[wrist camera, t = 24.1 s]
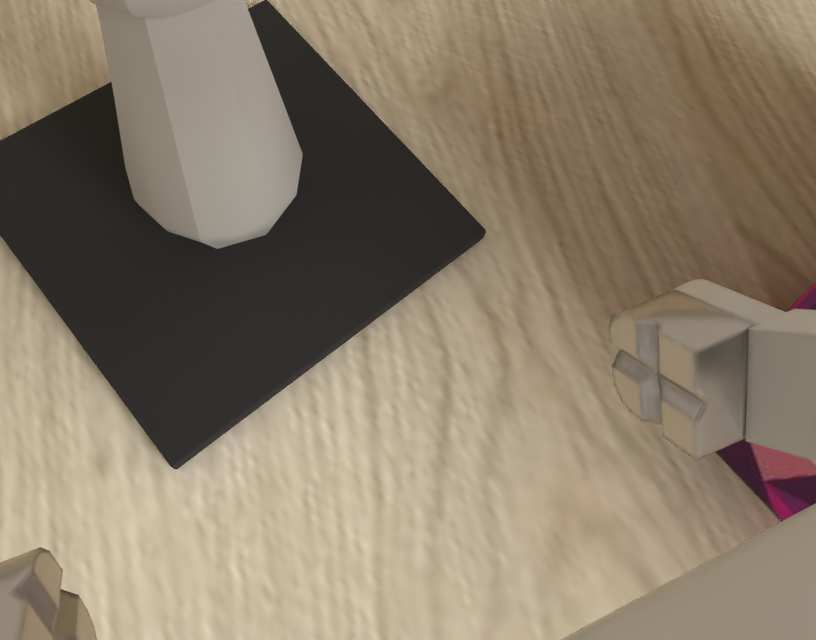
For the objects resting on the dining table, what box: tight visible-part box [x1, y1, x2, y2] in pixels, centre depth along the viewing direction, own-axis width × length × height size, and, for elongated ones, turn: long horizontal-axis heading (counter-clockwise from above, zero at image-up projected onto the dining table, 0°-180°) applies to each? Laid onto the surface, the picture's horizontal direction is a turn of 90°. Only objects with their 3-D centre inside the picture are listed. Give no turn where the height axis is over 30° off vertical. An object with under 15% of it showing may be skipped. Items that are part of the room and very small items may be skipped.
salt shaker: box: [90, 0, 303, 249], centre depth 19 cm, size 6×6×13 cm
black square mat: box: [0, 0, 486, 469], centre depth 25 cm, size 14×14×1 cm
